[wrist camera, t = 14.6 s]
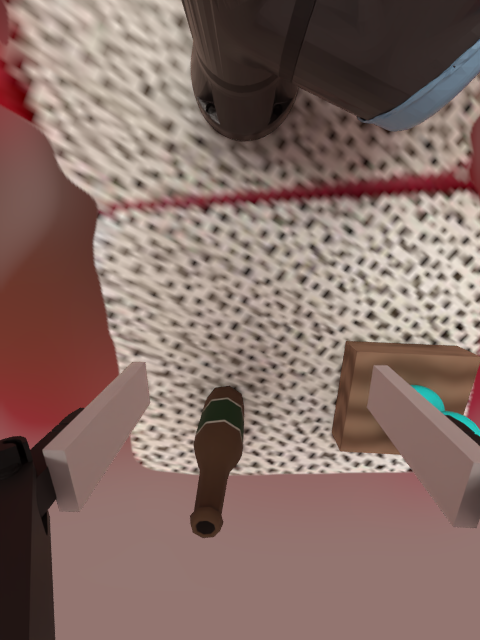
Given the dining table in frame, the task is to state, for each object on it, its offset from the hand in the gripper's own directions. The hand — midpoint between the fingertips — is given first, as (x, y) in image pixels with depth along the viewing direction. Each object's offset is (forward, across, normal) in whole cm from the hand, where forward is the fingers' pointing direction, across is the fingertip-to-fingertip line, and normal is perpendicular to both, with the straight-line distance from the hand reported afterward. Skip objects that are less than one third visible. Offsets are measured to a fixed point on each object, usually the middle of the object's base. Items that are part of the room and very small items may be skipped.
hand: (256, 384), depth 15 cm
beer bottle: (+31, -5, -22) cm, 38 cm away
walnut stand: (+31, +27, -20) cm, 45 cm away
